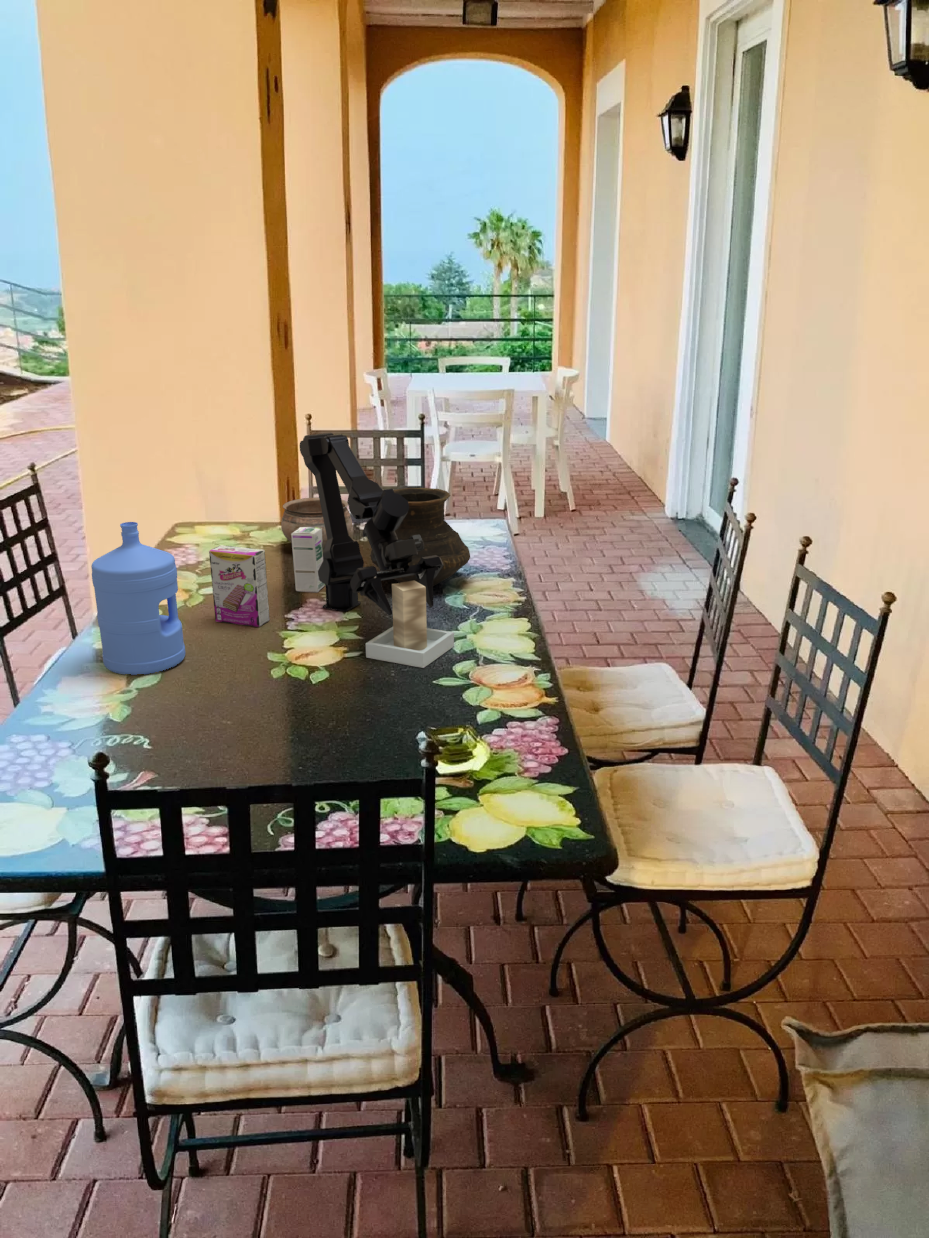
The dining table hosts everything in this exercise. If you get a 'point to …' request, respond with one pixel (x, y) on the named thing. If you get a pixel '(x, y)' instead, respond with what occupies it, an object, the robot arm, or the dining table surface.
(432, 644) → the tray
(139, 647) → the water jug
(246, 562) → the candy bar box
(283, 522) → the cooking pot
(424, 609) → the birch block
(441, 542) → the ceramic pot
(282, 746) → the dining table surface
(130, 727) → the dining table surface
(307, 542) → the syrup box
